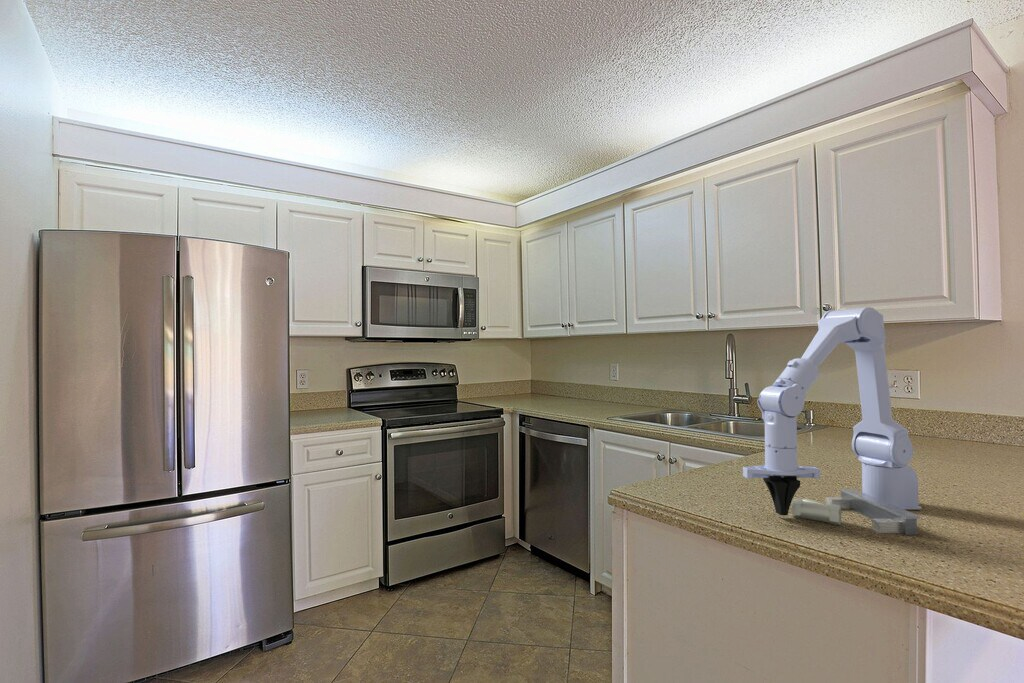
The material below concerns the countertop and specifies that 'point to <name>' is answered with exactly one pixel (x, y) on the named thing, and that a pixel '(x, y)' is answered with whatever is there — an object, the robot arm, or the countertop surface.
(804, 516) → the pipe fitting
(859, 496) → the grey bracket
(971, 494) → the countertop surface
